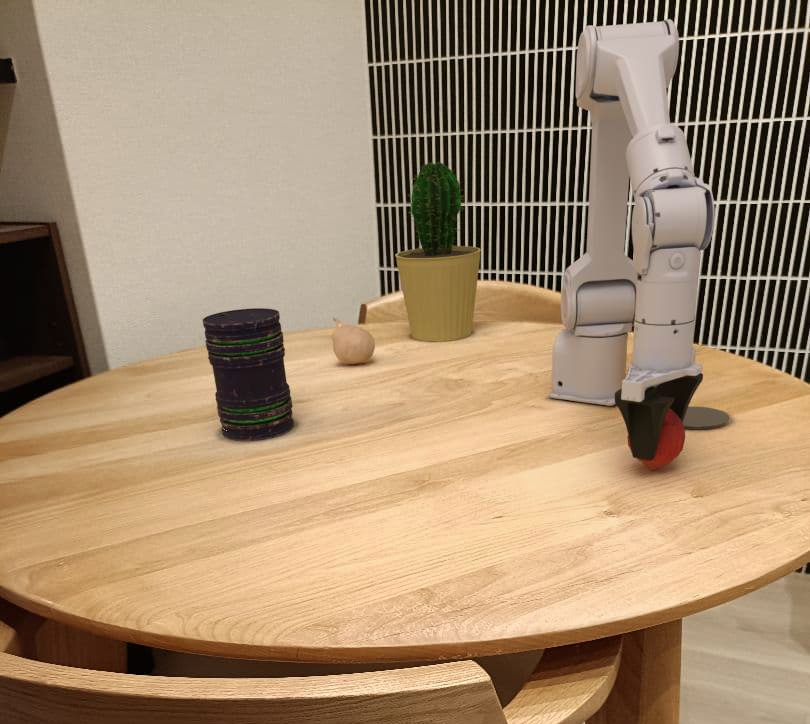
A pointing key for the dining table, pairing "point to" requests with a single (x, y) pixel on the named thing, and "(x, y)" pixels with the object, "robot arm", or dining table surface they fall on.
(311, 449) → the dining table surface
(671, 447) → the onion
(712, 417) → the coaster
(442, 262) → the potted cactus
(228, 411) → the dark purple cylinder
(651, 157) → the robot arm
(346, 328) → the garlic bulb
